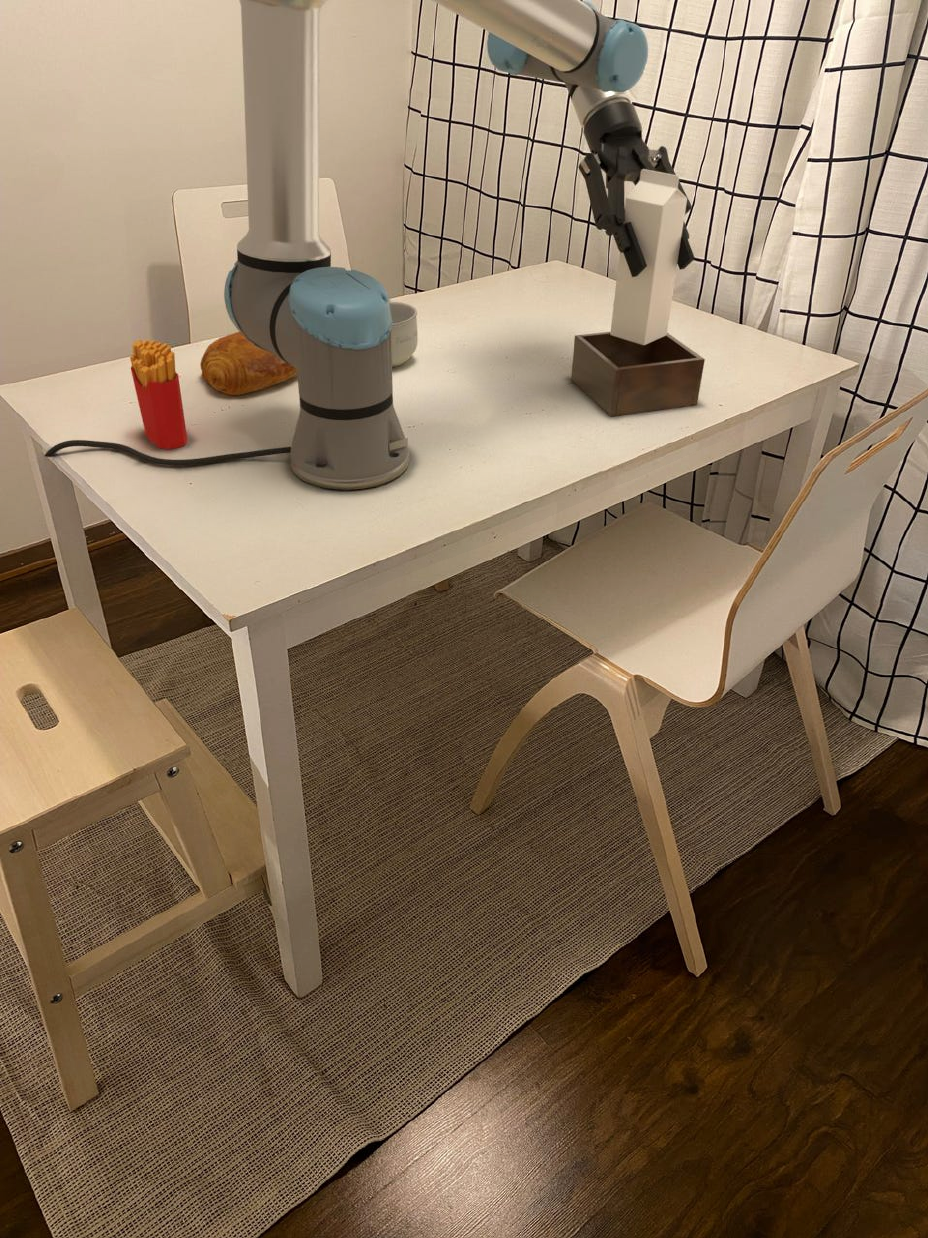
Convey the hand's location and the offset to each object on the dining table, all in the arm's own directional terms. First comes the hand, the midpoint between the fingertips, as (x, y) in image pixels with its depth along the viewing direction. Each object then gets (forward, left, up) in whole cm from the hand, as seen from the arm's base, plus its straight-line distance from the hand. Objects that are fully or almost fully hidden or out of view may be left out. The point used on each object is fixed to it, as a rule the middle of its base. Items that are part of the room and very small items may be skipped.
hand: (663, 267), depth 131 cm
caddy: (0, +3, -19) cm, 20 cm away
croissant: (-54, +25, -20) cm, 63 cm away
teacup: (-32, +27, -20) cm, 47 cm away
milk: (-1, +3, -11) cm, 11 cm away
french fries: (-68, +7, -19) cm, 72 cm away
